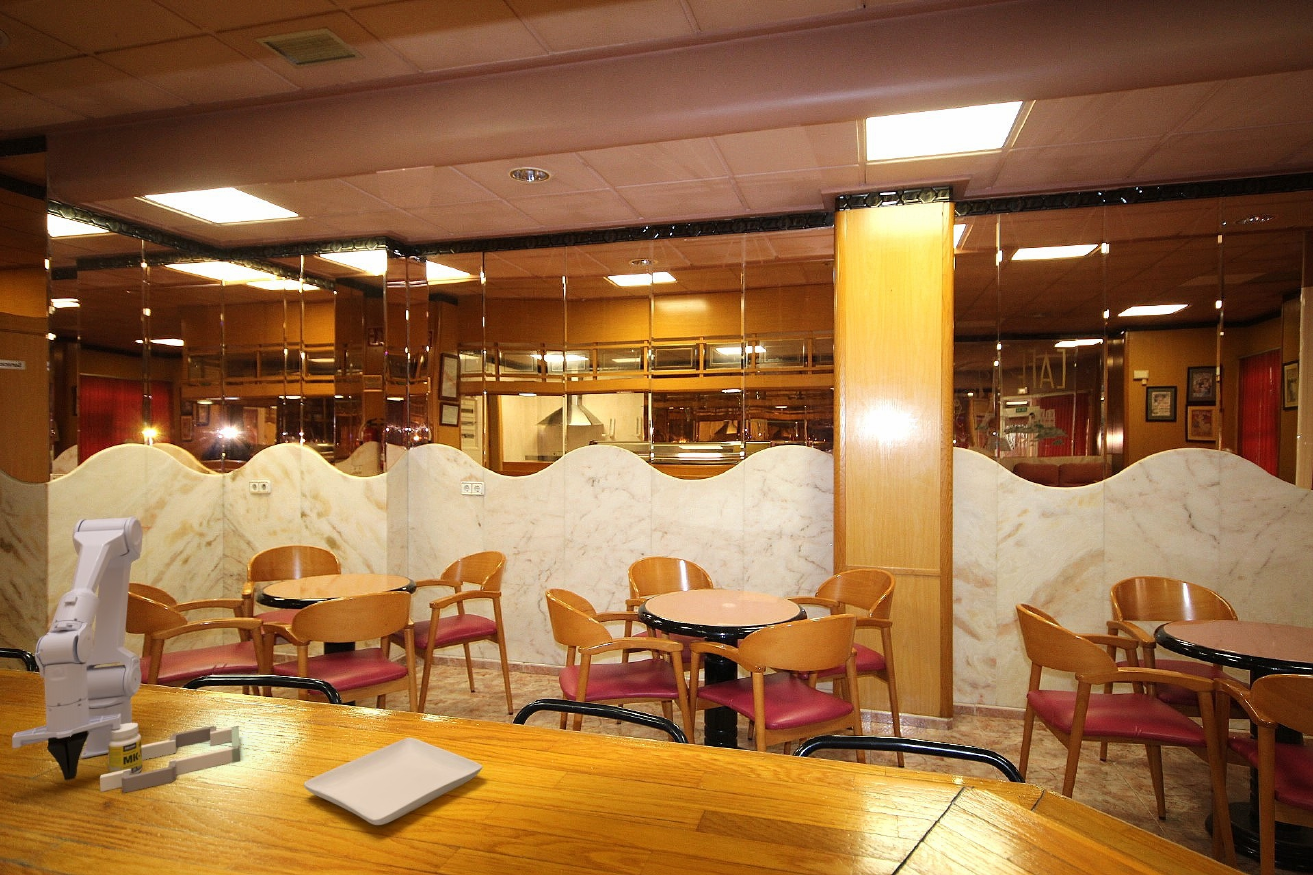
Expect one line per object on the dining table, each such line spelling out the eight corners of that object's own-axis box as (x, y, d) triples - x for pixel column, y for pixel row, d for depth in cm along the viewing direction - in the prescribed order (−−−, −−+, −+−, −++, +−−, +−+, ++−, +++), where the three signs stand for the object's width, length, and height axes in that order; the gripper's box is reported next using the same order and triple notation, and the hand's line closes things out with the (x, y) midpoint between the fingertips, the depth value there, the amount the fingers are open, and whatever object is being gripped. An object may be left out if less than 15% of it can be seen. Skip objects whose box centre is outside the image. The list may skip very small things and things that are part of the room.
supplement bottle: (124, 781, 128) (122, 733, 127) (102, 778, 129) (100, 731, 128) (149, 767, 132) (147, 722, 132) (127, 765, 133) (125, 720, 133)
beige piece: (111, 758, 136) (111, 746, 136) (238, 732, 147) (238, 720, 147) (98, 798, 122) (97, 784, 122) (240, 766, 132) (239, 753, 132)
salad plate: (409, 751, 138) (409, 733, 138) (486, 782, 126) (485, 763, 126) (300, 801, 121) (299, 781, 121) (377, 843, 108) (376, 821, 108)
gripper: (5, 717, 119) (10, 799, 119) (115, 698, 126) (119, 775, 127) (16, 702, 125) (20, 780, 126) (121, 685, 132) (124, 759, 133)
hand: (70, 777), depth 127 cm, fingers closed
